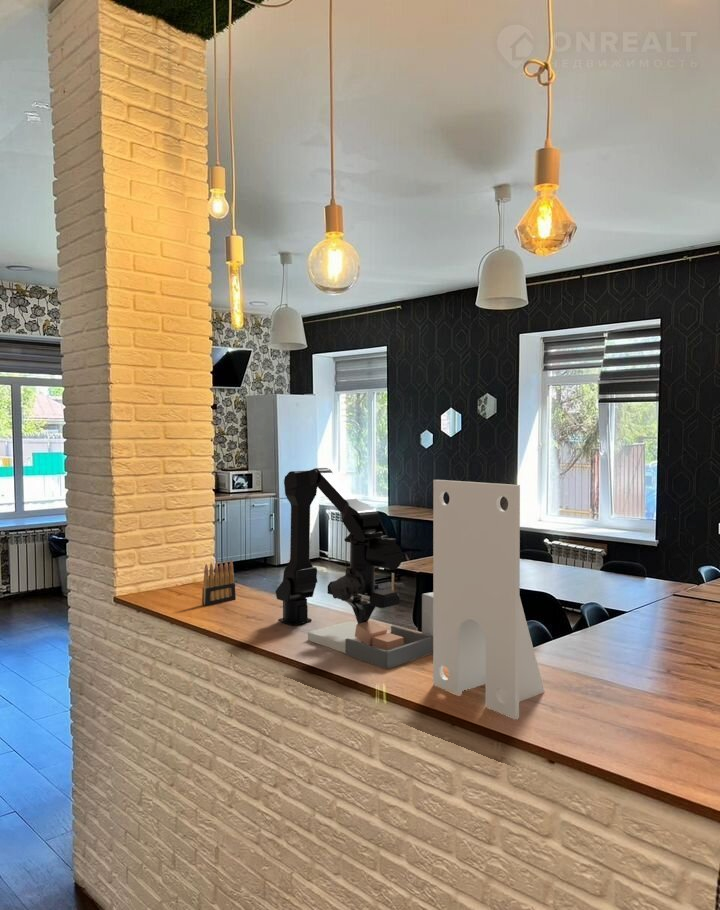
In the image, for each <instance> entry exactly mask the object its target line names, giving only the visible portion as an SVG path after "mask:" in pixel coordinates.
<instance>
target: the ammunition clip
mask: <svg viewBox="0 0 720 910" xmlns="http://www.w3.org/2000/svg"><path fill="white" fill-rule="evenodd" d="M233 563H234V562H233V560H232V559H230V561H229V563H228V561H227V560H225V562H224V565H223V561H220V562H219V564H218V562H215V564H214V566H213V563H212V562H211V563H210V564H209V565H210V566H209V567H208V564H207V563H206V564H205V565H204V568H203V569H204V571H203V587H202V594H201V595H202V597H201V598H202V599H201V601H202V602H201V603H202V604H201V605H202V606H204V607H207V606H213V605H218V604H222V603H226V602H232V601H236V597H237V596H236V583H235V573H234V564H233ZM218 565H219V566H218Z"/></svg>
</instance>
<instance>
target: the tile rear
mask: <svg viewBox="0 0 720 910" xmlns="http://www.w3.org/2000/svg"><path fill="white" fill-rule="evenodd" d="M387 631H388V630H387V628H385V627H383V626H382V625H380V624H379V623H377V622H375V621H374V620H368V622H364V623H360V624H357V625H356V631H355V637H356V638H358V639H359V640H361V641H362V642H364V643H365V644H367V645H372V637H374V636H378V635H381V634H385V633H387Z"/></svg>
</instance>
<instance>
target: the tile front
mask: <svg viewBox="0 0 720 910" xmlns="http://www.w3.org/2000/svg"><path fill="white" fill-rule="evenodd" d="M403 645H404V637H401V636H398V635H394V634H391V633H385V634H381V635H378V636H374V637H372V646H374V647H377V648H380V649H383V650H387V651H388V650H391V649H394V648H397V647H400V646H403Z"/></svg>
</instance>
